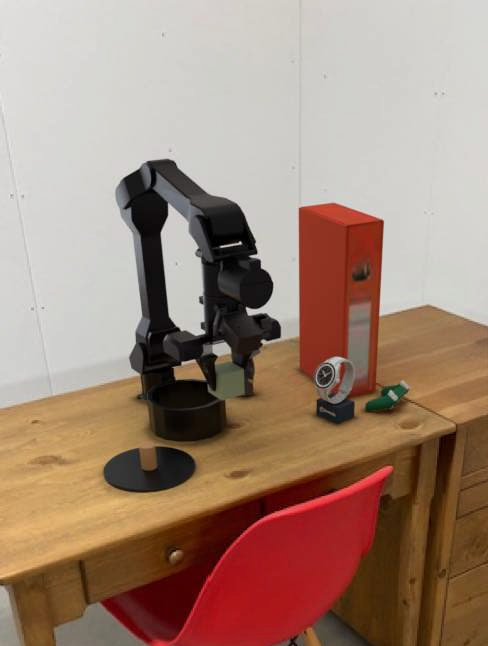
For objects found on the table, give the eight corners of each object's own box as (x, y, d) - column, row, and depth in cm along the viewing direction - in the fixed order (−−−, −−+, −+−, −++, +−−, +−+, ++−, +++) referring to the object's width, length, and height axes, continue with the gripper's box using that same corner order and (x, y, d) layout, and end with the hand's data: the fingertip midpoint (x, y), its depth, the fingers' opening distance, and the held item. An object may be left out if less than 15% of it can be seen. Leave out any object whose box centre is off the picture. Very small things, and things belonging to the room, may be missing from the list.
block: (221, 400, 128) (220, 375, 125) (207, 391, 131) (206, 366, 128) (244, 394, 130) (243, 368, 127) (230, 385, 133) (229, 360, 131)
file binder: (339, 399, 153) (345, 224, 135) (298, 369, 165) (298, 206, 148) (375, 391, 155) (385, 219, 138) (332, 363, 168) (336, 202, 151)
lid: (85, 476, 128) (80, 448, 125) (152, 443, 138) (149, 416, 135) (147, 505, 120) (144, 476, 118) (214, 469, 130) (212, 441, 127)
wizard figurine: (266, 395, 155) (265, 335, 148) (242, 402, 152) (240, 341, 145) (242, 382, 160) (240, 323, 154) (219, 388, 158) (216, 329, 151)
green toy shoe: (373, 422, 148) (396, 406, 144) (361, 406, 147) (384, 389, 143) (393, 404, 154) (415, 388, 150) (381, 389, 154) (403, 372, 150)
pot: (135, 430, 142) (131, 396, 139) (188, 405, 151) (186, 373, 147) (189, 451, 135) (186, 416, 131) (242, 424, 144) (240, 391, 140)
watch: (308, 418, 146) (309, 360, 140) (339, 405, 150) (341, 349, 144) (330, 427, 142) (331, 369, 136) (361, 414, 147) (363, 357, 141)
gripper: (194, 317, 111) (200, 419, 120) (301, 294, 120) (300, 390, 129) (157, 297, 119) (166, 394, 128) (261, 276, 128) (262, 368, 136)
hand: (225, 387), depth 130 cm, fingers closed on block, 4 cm apart
